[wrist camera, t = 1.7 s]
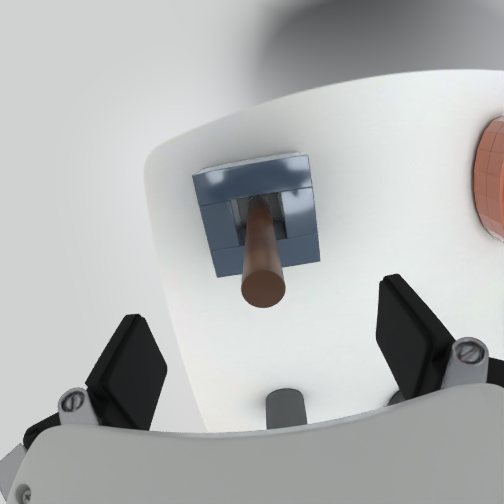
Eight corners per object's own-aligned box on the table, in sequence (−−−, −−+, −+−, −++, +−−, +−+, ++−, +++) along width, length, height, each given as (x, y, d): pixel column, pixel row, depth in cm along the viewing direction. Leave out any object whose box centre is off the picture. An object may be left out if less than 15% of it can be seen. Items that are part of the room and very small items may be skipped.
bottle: (263, 408, 40) (264, 490, 26) (269, 387, 38) (272, 477, 24) (298, 410, 40) (307, 489, 26) (307, 388, 38) (321, 475, 24)
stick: (246, 197, 27) (237, 274, 12) (267, 193, 27) (282, 267, 12) (250, 216, 28) (245, 311, 13) (270, 213, 28) (288, 304, 13)
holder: (203, 168, 26) (191, 175, 21) (298, 151, 25) (307, 154, 21) (222, 255, 29) (217, 278, 25) (310, 240, 29) (320, 261, 24)
